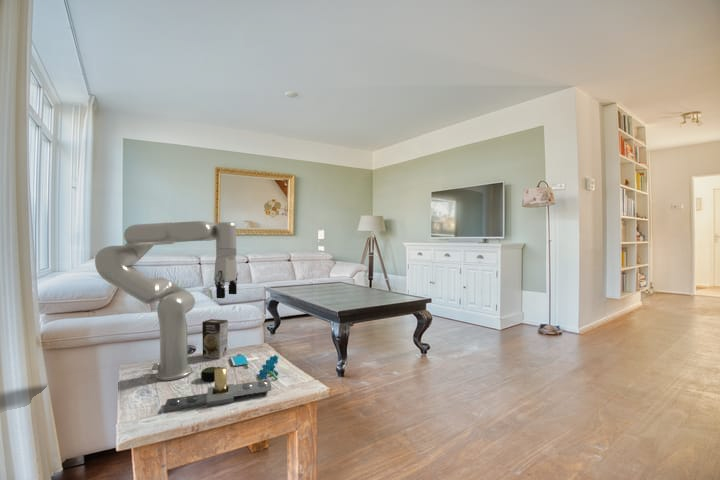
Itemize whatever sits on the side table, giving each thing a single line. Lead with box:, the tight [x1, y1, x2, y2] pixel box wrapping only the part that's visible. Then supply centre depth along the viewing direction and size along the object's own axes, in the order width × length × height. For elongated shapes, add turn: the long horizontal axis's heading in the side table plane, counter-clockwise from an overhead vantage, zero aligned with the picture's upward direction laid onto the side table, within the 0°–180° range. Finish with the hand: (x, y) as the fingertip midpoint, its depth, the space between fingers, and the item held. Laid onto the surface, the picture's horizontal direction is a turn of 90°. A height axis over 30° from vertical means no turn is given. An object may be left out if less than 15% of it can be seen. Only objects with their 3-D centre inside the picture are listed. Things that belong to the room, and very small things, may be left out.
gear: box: [257, 354, 279, 380], centre depth 133 cm, size 11×6×10 cm
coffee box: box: [201, 318, 229, 360], centre depth 158 cm, size 9×6×16 cm
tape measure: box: [200, 366, 220, 382], centre depth 132 cm, size 7×7×4 cm
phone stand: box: [229, 353, 260, 369], centre depth 151 cm, size 20×12×2 cm, turn 28°
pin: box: [214, 366, 228, 394], centre depth 114 cm, size 4×4×10 cm
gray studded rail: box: [163, 379, 272, 413], centre depth 114 cm, size 32×8×4 cm, turn 110°
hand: (226, 296), depth 138 cm, fingers open, 9 cm apart
